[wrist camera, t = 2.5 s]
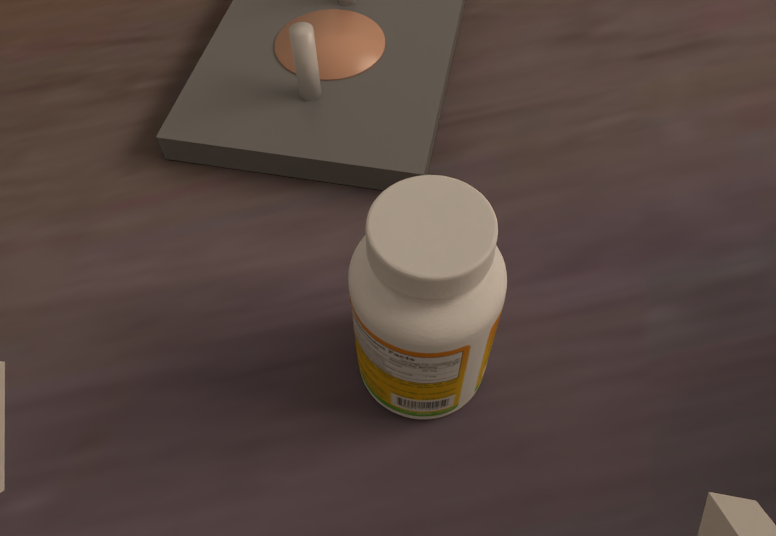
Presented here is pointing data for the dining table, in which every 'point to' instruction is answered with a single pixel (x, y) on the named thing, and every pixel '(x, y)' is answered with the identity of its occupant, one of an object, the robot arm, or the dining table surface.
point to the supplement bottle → (426, 295)
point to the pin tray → (319, 90)
